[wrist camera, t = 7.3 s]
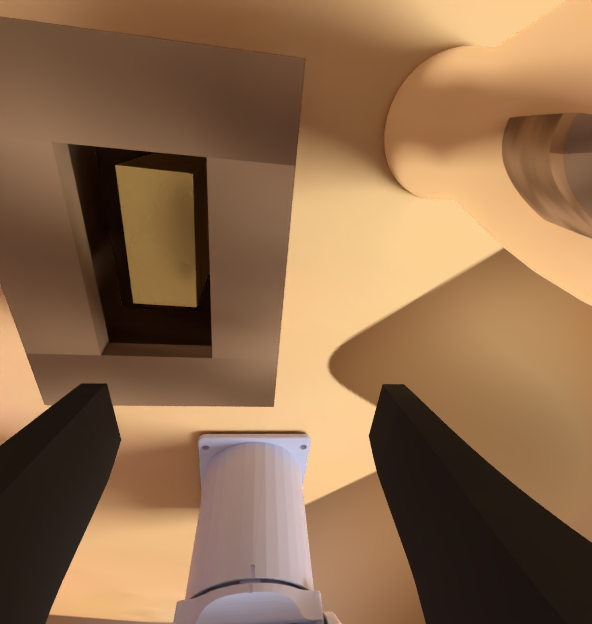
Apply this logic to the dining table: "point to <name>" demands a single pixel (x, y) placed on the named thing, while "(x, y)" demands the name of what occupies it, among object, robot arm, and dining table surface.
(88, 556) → the dining table surface
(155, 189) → the block
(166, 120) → the coin box
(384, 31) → the dining table surface
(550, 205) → the white upright piece
